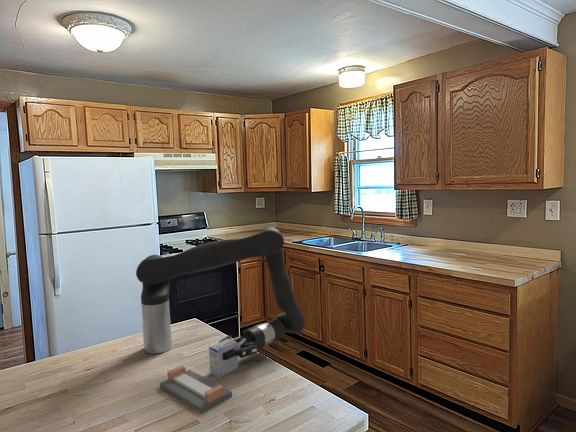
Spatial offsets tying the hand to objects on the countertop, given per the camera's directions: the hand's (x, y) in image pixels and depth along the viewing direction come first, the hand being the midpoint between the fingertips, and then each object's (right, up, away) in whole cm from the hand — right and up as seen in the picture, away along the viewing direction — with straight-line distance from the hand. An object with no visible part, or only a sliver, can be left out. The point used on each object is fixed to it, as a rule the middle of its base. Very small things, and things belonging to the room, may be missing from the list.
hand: (218, 354), depth 120 cm
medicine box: (+2, -6, +2) cm, 7 cm away
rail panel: (-5, -7, -9) cm, 13 cm away
